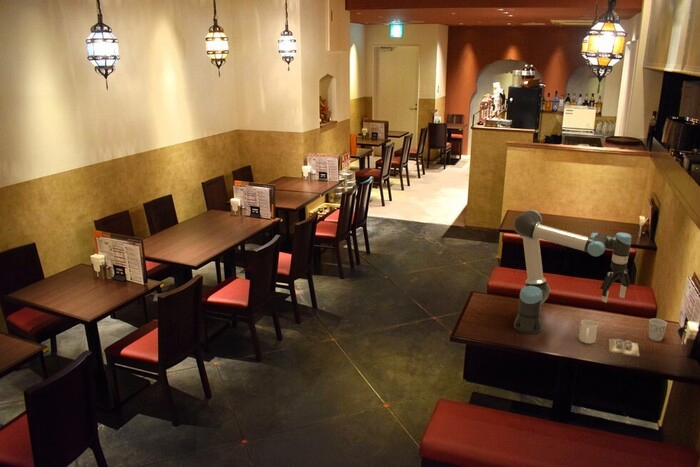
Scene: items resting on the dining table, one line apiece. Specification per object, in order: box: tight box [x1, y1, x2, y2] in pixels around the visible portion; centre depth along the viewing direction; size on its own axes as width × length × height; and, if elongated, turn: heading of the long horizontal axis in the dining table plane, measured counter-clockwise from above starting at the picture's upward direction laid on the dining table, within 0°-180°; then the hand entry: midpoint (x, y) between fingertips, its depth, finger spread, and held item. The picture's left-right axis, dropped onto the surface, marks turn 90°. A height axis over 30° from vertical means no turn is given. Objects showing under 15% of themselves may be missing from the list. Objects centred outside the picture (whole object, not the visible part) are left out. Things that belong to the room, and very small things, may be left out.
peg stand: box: [608, 338, 640, 358], centre depth 293 cm, size 14×14×4 cm
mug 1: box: [578, 319, 599, 345], centre depth 299 cm, size 12×8×10 cm
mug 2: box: [648, 318, 668, 342], centre depth 304 cm, size 11×8×10 cm
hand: (613, 299), depth 299 cm, fingers open, 13 cm apart
